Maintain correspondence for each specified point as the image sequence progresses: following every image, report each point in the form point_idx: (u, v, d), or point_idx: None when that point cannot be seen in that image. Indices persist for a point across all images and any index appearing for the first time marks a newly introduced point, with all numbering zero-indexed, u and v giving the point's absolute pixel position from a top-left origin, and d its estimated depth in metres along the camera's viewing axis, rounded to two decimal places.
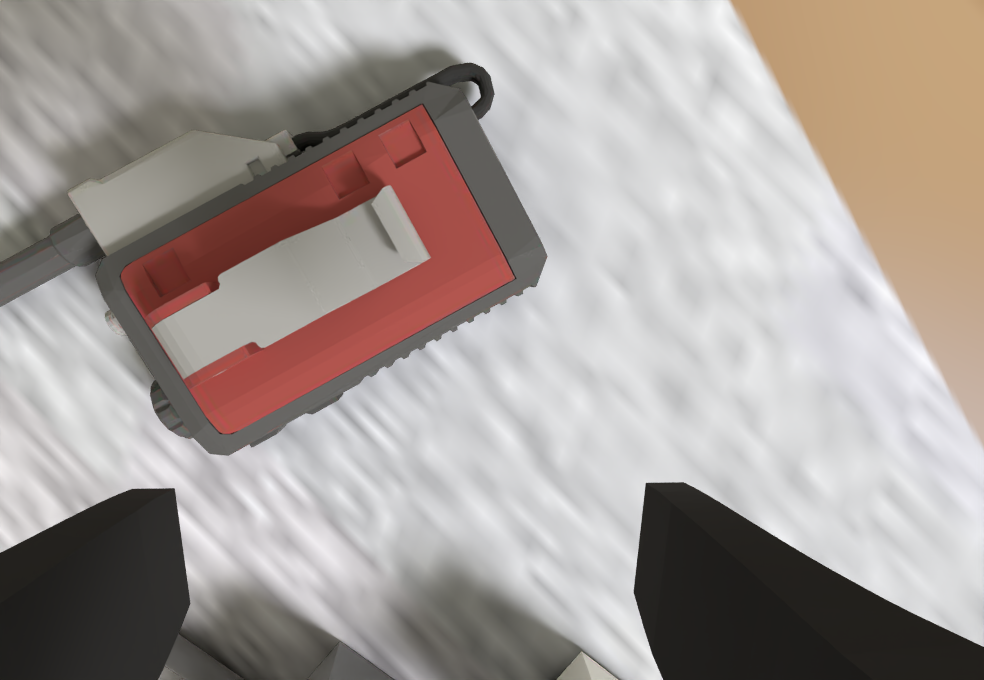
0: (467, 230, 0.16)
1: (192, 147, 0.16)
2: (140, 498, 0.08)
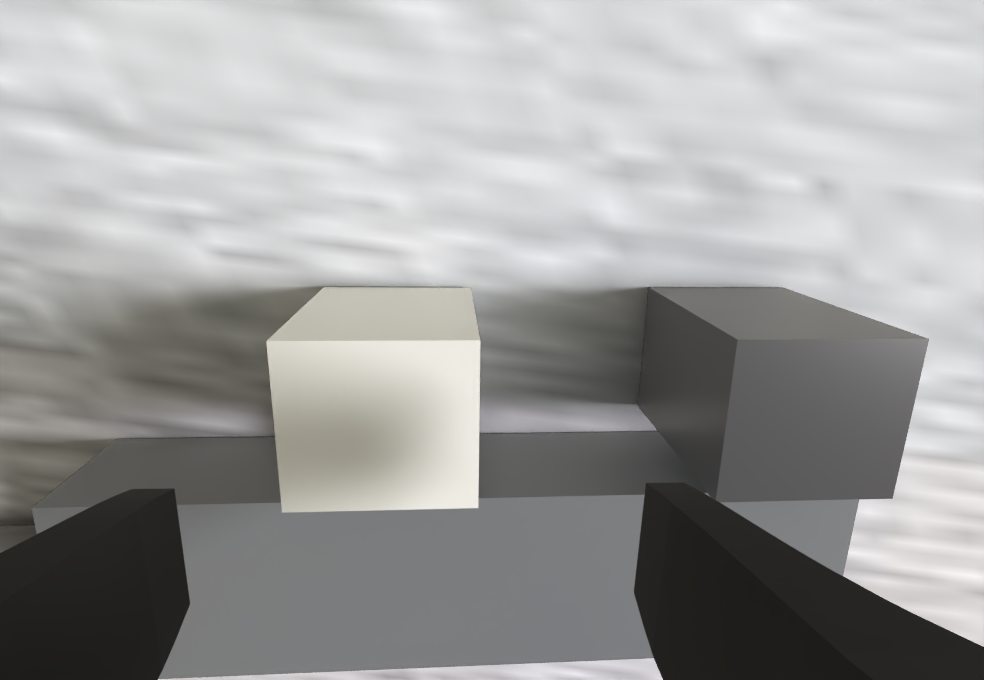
0: None
1: None
2: (140, 498, 0.08)
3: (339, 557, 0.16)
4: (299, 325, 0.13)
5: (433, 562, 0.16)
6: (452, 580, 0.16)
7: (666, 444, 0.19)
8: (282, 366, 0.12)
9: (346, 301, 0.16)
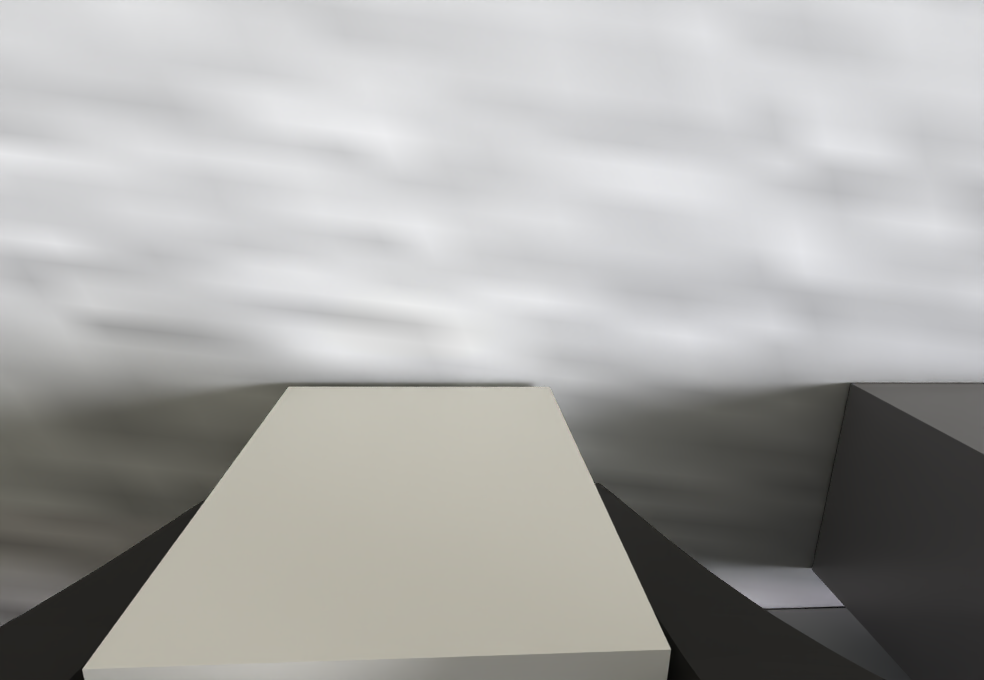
0: None
1: None
2: None
3: None
4: (203, 558, 0.06)
5: None
6: None
7: (869, 645, 0.11)
8: None
9: (325, 438, 0.08)
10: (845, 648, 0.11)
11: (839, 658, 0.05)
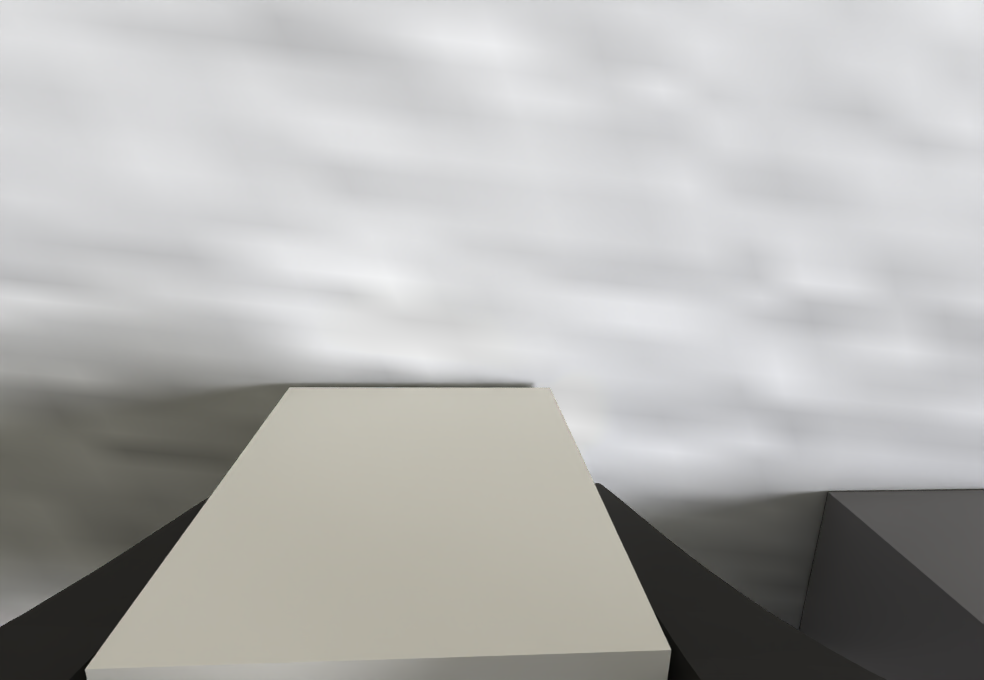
0: None
1: None
2: None
3: None
4: (205, 558, 0.06)
5: None
6: None
7: None
8: None
9: (327, 438, 0.08)
10: None
11: (839, 658, 0.05)
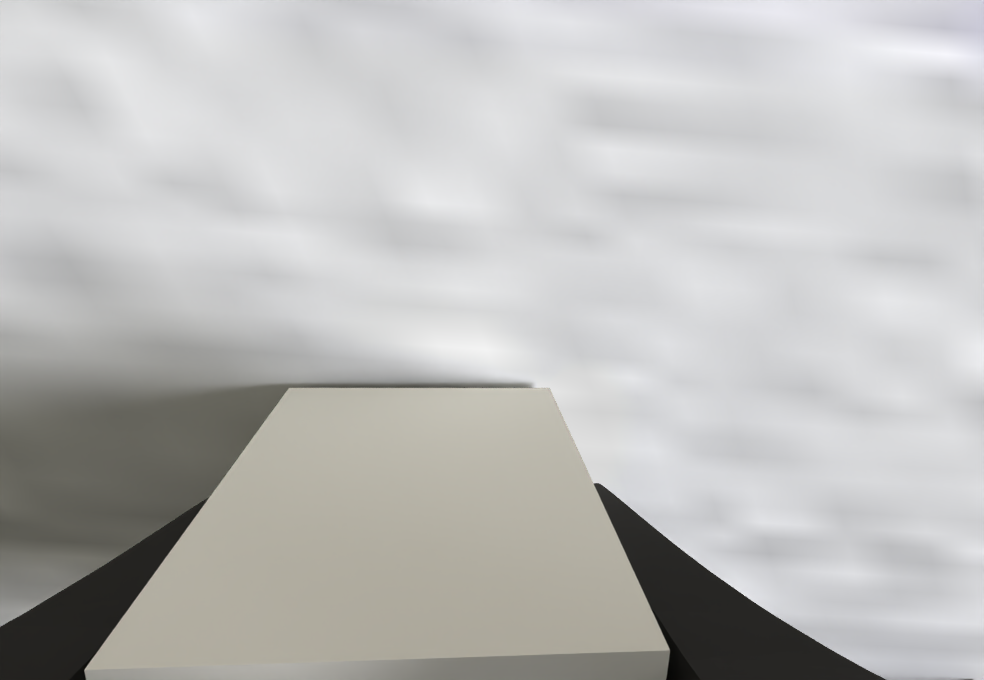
0: None
1: None
2: None
3: None
4: (204, 559, 0.06)
5: None
6: None
7: None
8: None
9: (326, 439, 0.08)
10: None
11: (839, 658, 0.05)
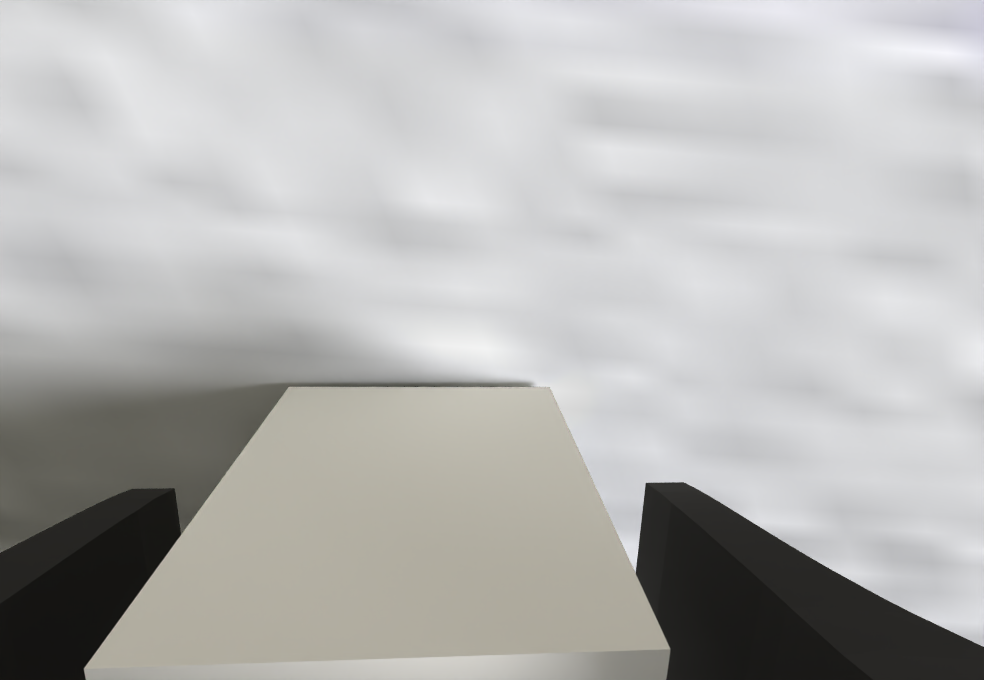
0: None
1: None
2: (140, 498, 0.08)
3: None
4: (204, 558, 0.06)
5: None
6: None
7: None
8: None
9: (326, 438, 0.08)
10: None
11: None
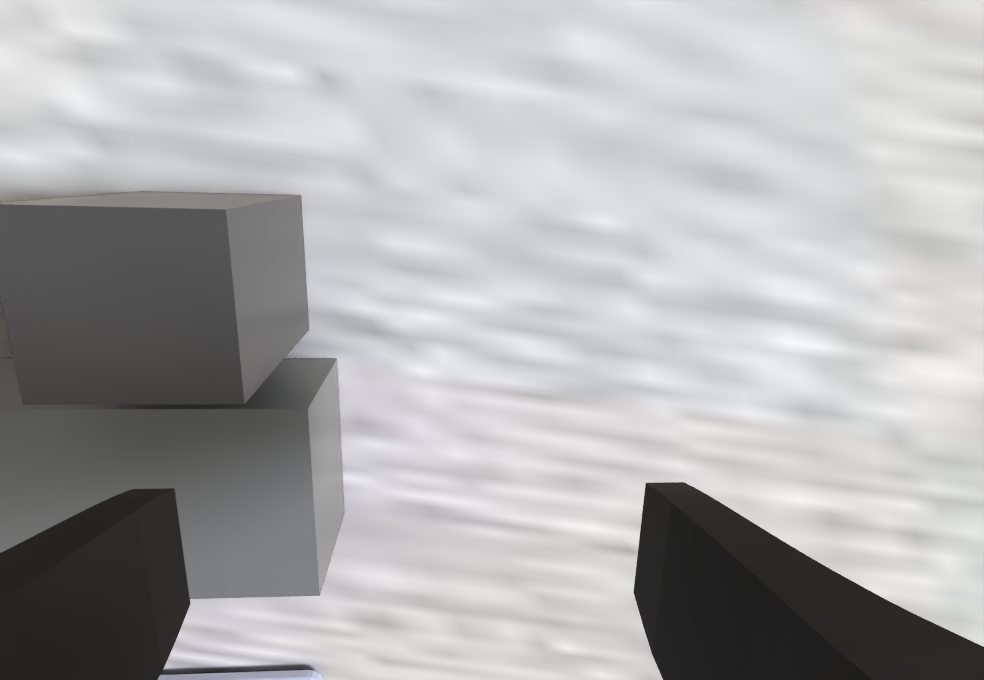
0: None
1: None
2: (140, 498, 0.08)
3: None
4: None
5: None
6: None
7: None
8: None
9: None
10: None
11: None
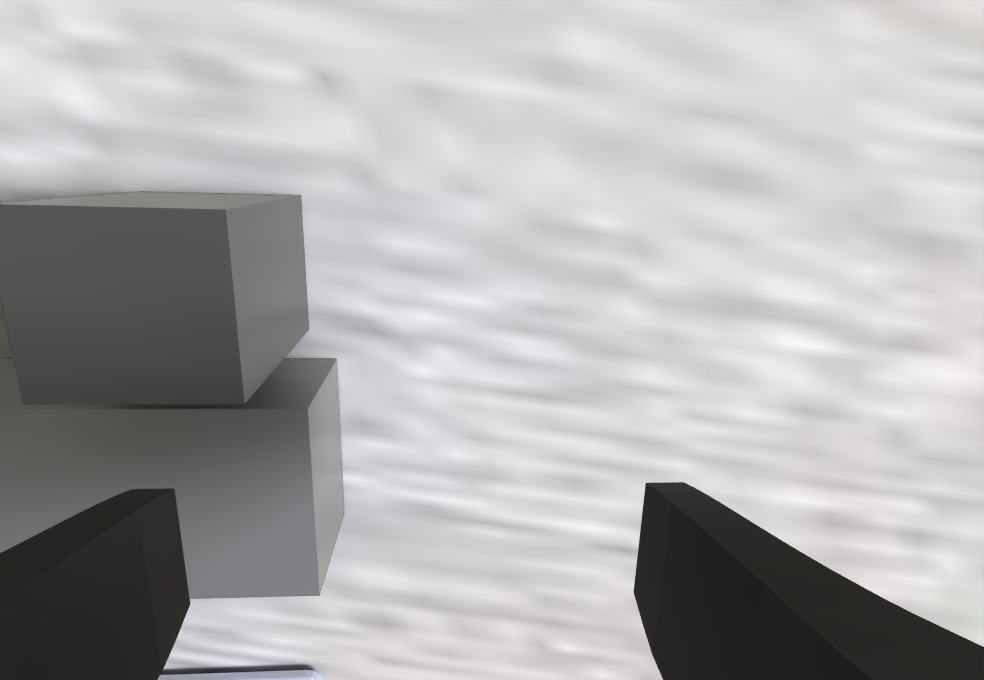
0: None
1: None
2: (140, 498, 0.08)
3: None
4: None
5: None
6: None
7: None
8: None
9: None
10: None
11: None
